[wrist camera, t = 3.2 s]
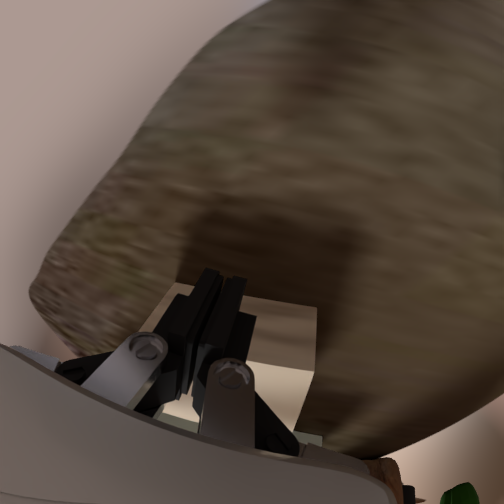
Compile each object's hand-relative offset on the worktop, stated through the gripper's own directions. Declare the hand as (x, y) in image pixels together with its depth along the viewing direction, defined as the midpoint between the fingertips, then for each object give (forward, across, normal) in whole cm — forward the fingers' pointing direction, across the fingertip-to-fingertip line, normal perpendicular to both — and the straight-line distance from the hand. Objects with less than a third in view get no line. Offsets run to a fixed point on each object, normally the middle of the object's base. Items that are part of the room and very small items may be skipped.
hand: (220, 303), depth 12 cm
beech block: (+8, -1, +8) cm, 11 cm away
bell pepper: (+7, -48, +36) cm, 61 cm away
